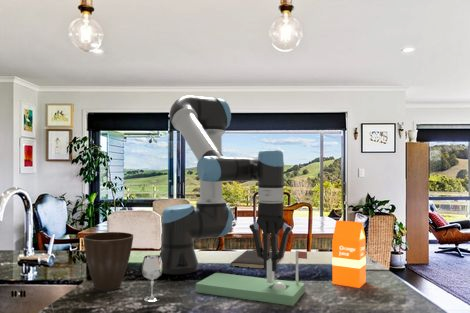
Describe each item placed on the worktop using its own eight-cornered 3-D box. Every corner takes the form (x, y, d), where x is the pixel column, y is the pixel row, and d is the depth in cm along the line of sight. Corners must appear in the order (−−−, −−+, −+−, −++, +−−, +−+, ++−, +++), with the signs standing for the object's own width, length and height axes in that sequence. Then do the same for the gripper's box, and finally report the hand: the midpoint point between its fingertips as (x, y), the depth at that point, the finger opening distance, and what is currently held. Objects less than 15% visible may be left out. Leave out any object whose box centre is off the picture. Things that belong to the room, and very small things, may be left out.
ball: (268, 292, 118) (275, 280, 117) (272, 288, 122) (278, 277, 121) (280, 300, 117) (286, 289, 116) (283, 296, 120) (290, 285, 120)
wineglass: (143, 296, 118) (143, 254, 118) (163, 295, 118) (163, 254, 119) (140, 302, 112) (140, 259, 113) (161, 302, 113) (161, 258, 113)
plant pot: (140, 282, 132) (141, 232, 133) (118, 296, 118) (119, 240, 118) (99, 279, 135) (99, 231, 136) (72, 293, 121) (73, 238, 121)
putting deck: (195, 291, 122) (195, 250, 123) (215, 280, 135) (216, 242, 135) (296, 306, 110) (296, 259, 110) (308, 291, 123) (308, 250, 123)
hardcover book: (282, 257, 172) (282, 252, 172) (271, 270, 150) (271, 264, 150) (245, 255, 177) (245, 250, 177) (230, 267, 154) (230, 261, 155)
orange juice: (359, 288, 127) (359, 223, 128) (332, 283, 132) (332, 221, 132) (366, 282, 134) (365, 221, 134) (339, 278, 138) (339, 219, 139)
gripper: (245, 202, 120) (245, 282, 120) (288, 203, 115) (288, 288, 115) (254, 200, 127) (254, 276, 127) (295, 201, 122) (295, 281, 121)
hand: (270, 281), depth 121 cm, fingers closed
